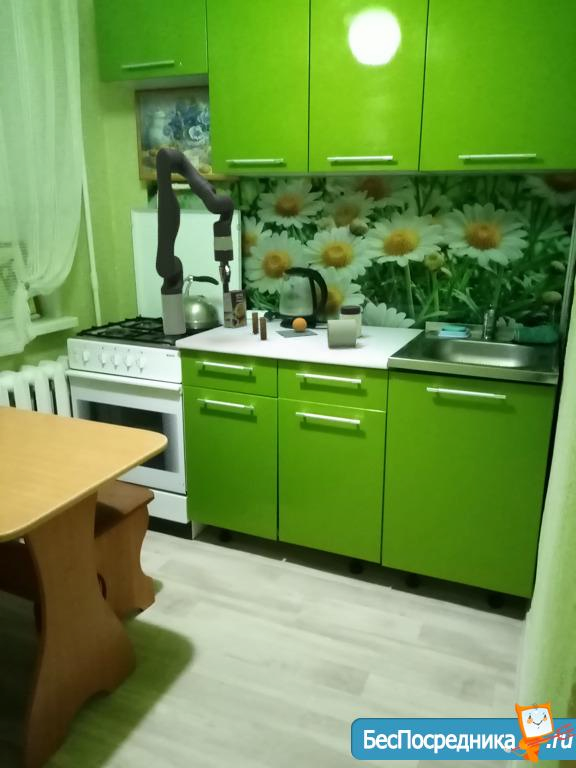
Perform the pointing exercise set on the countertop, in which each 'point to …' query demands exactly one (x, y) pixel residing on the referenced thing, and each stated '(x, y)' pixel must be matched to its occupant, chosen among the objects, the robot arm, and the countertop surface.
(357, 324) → the jar
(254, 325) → the post
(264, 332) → the post
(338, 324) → the toilet paper
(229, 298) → the coffee box
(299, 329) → the ball
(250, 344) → the countertop surface
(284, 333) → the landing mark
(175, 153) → the robot arm
